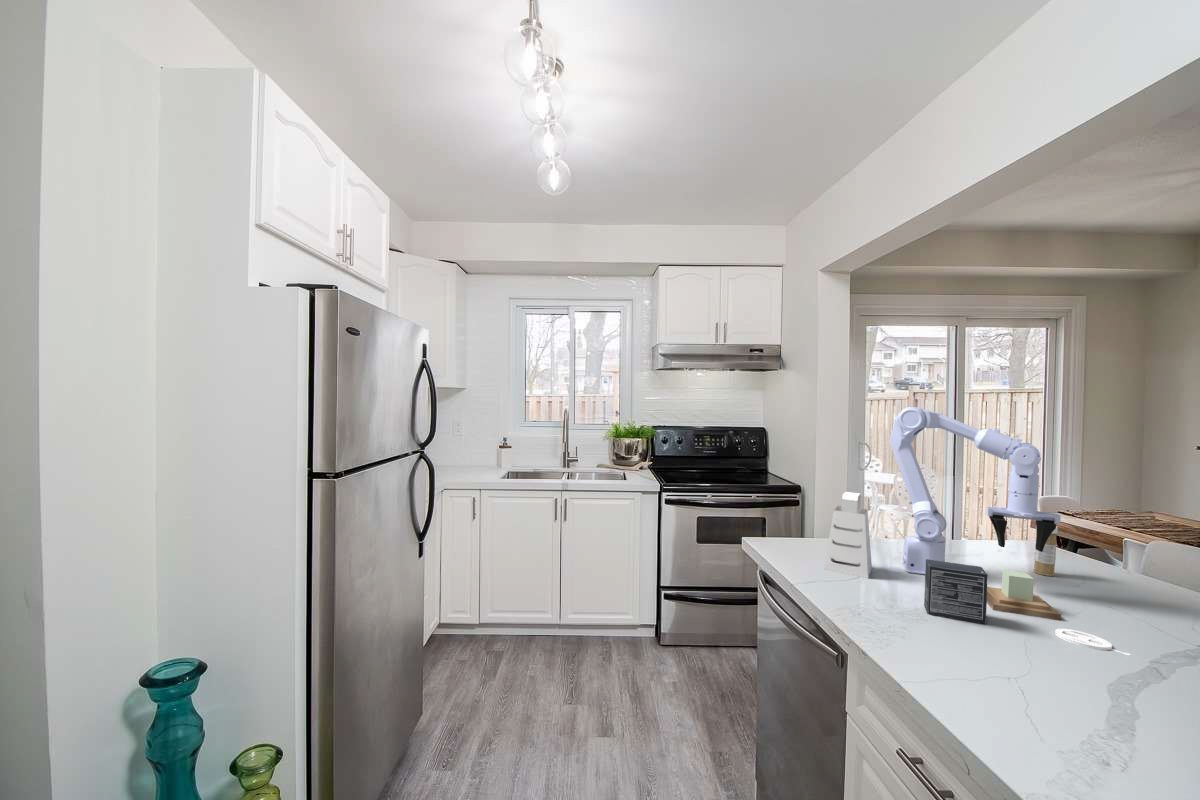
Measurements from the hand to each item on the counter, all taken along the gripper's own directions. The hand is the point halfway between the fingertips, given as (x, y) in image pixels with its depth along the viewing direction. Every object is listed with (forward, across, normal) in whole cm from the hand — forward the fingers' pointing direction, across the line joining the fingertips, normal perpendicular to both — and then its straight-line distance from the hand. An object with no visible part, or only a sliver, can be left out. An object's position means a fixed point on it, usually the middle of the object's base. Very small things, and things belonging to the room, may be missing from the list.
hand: (1020, 548), depth 131 cm
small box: (+11, -19, -25) cm, 33 cm away
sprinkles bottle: (+11, +12, +20) cm, 26 cm away
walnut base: (+10, -4, -12) cm, 16 cm away
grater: (+11, -38, -2) cm, 40 cm away
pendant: (+11, +3, -29) cm, 31 cm away
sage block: (+8, -4, -12) cm, 15 cm away
